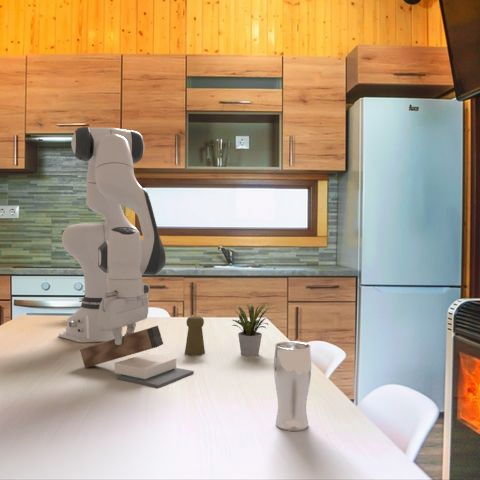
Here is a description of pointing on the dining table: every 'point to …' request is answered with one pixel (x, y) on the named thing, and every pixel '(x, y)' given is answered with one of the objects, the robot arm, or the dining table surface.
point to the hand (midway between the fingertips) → (124, 342)
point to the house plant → (250, 330)
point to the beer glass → (292, 384)
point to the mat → (160, 378)
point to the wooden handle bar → (121, 347)
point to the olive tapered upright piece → (195, 336)
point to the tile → (145, 366)
